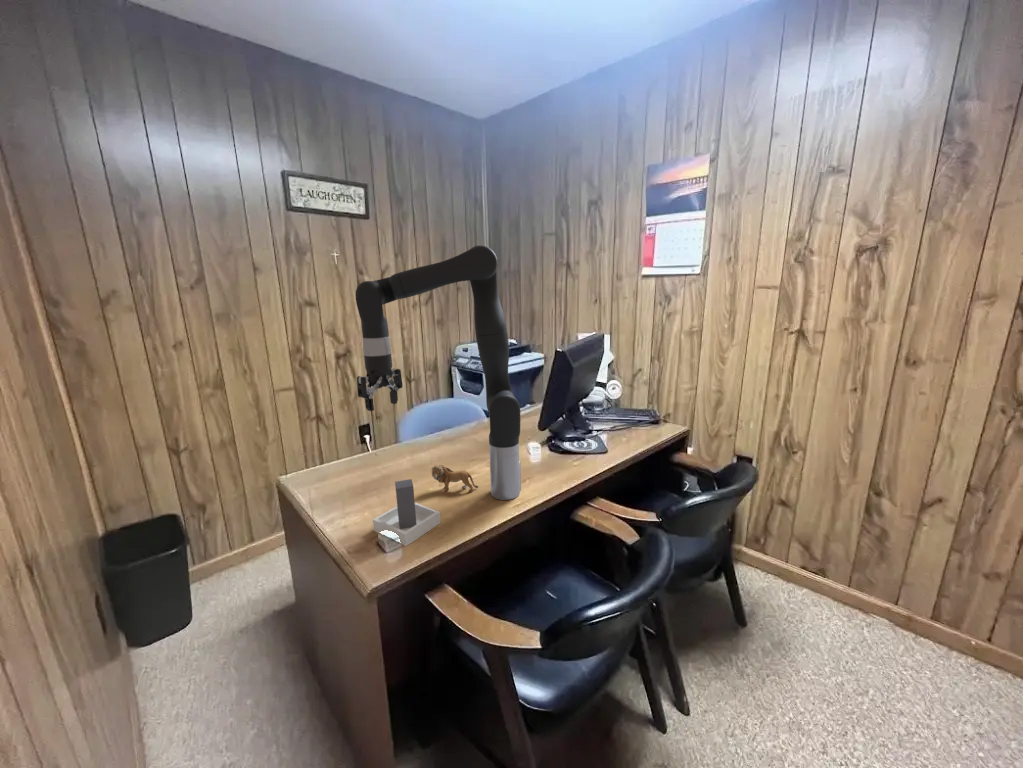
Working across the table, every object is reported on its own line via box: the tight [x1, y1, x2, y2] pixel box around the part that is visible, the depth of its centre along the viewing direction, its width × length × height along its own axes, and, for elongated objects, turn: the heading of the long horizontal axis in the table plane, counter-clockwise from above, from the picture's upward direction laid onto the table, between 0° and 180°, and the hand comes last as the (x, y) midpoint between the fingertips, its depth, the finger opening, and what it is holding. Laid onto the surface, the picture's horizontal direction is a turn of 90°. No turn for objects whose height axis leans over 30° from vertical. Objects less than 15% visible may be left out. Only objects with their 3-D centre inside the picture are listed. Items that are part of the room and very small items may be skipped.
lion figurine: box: [431, 464, 479, 494], centre depth 135 cm, size 15×5×9 cm, turn 96°
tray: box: [372, 502, 441, 547], centre depth 116 cm, size 13×13×4 cm
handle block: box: [394, 478, 416, 530], centre depth 114 cm, size 4×4×12 cm
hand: (382, 406), depth 124 cm, fingers open, 8 cm apart
